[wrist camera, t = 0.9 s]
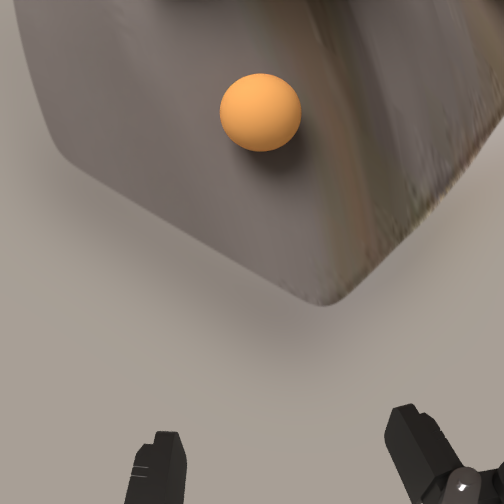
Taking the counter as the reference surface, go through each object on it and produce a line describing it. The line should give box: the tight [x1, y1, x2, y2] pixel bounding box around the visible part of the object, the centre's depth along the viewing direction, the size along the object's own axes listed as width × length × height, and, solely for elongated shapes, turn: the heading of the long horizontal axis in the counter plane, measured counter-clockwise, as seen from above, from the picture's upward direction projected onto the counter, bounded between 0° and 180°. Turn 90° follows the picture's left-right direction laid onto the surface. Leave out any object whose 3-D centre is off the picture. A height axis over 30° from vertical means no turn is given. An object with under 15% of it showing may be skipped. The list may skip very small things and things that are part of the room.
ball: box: [220, 74, 301, 152], centre depth 20 cm, size 6×6×6 cm
